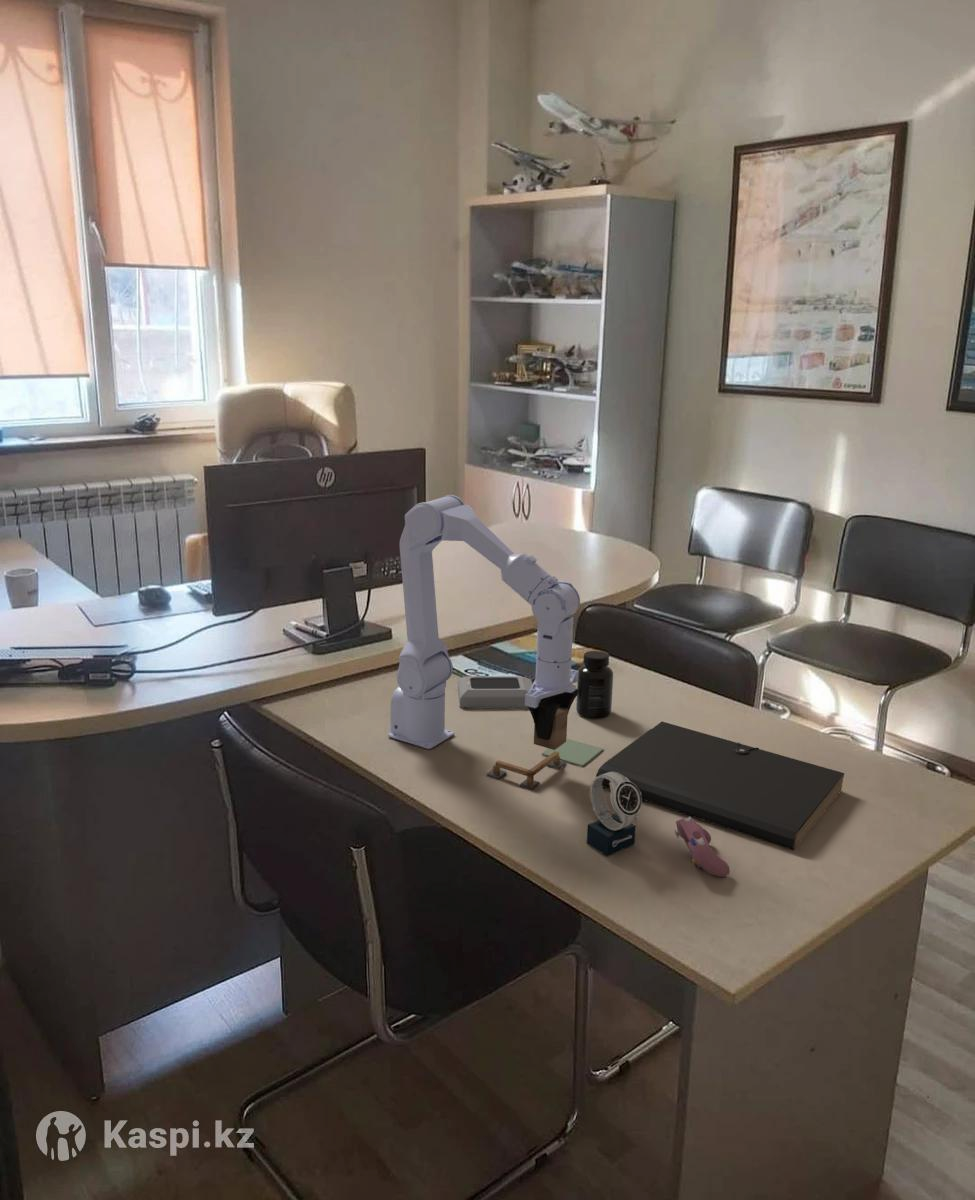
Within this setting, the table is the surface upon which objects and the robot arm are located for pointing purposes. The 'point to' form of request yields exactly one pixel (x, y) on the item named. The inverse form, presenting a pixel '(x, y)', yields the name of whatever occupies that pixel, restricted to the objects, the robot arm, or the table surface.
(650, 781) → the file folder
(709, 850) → the pink curved piece
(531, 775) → the brown angled rail
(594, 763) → the table surface
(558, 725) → the block
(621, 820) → the watch
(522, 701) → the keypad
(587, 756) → the mat
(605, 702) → the supplement bottle
